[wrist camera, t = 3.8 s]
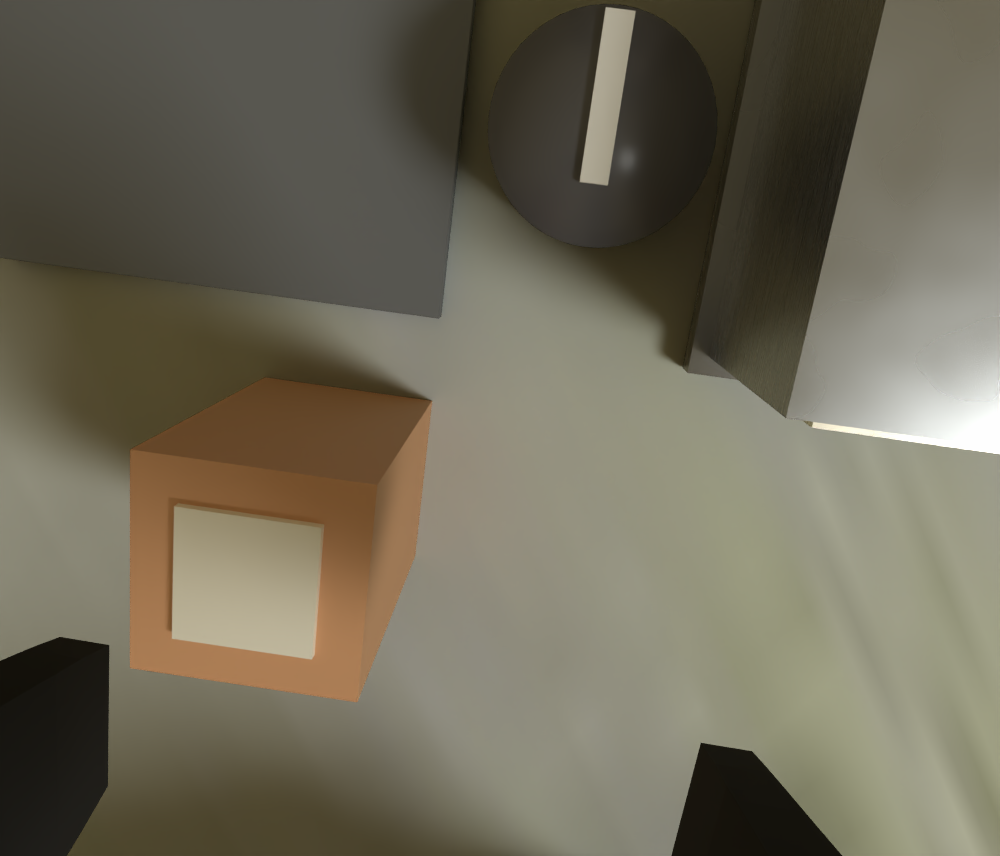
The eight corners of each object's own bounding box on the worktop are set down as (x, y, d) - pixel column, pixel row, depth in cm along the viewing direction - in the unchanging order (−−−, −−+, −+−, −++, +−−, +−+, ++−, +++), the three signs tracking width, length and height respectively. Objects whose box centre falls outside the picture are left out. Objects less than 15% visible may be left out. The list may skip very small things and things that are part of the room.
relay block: (415, 555, 19) (355, 707, 13) (257, 532, 19) (125, 672, 13) (432, 400, 18) (375, 488, 12) (264, 377, 18) (125, 452, 12)
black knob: (666, 255, 17) (693, 261, 14) (487, 230, 17) (474, 232, 14) (703, 58, 16) (741, 17, 13) (511, 33, 16) (502, -14, 13)
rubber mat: (441, 316, 17) (438, 318, 17) (11, 257, 17) (-1, 257, 17) (497, -201, 14) (496, -212, 14) (-9, -263, 15) (-24, -277, 14)
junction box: (982, 409, 17) (1245, 518, 11) (682, 367, 17) (764, 451, 11) (1118, -26, 15) (1559, -220, 8) (769, -70, 15) (938, -294, 8)
